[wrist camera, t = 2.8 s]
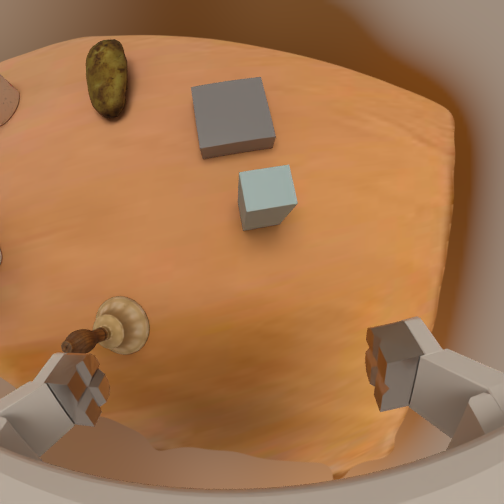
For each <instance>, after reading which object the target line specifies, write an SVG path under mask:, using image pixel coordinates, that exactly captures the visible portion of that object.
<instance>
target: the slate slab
mask: <svg viewBox="0 0 504 504" xmlns="http://www.w3.org/2000/svg"><path fill="white" fill-rule="evenodd" d="M191 90H192V97H193V104H194V111H195V118H196V125H197V132H198V138H199V145H200V150H201V154H202V158H203V159H207V158H212V157H218V156H223V155H229V154H235V153H241V152H248V151H254V150H261V149H268V148H272V147H273V144H274V141H275V137H276V136H275V131H274V127H273V123H272V119H271V115H270V111H269V107H268V103H267V99H266V95H265V91H264V87H263V83H262V80H261V77H256V78H248V79H240V80H232V81H225V82H219V83H213V84H207V85H201V86H195V87H191Z"/></svg>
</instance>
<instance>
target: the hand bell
mask: <svg viewBox="0 0 504 504" xmlns="http://www.w3.org/2000/svg"><path fill="white" fill-rule="evenodd" d="M148 335H149V322H148V318H147V316H146V313H145V312H144V310H143V309H142V307H141V306H140V305H139V304H138V303H136V302H135V301H134V300H132V299H130V298H127V297H122V296H117V297H112V298H110V299H108V300H106V301H105V302H104V303H103V304H102V305H101V306H100V308H99V310H98V312H97V315H96V321H95V323H94V325H93V331H90V330H86V329H82V330H77V331H74V332H72V333H71V334H70V335H68V337H67V338H66V340H65V341H64V342H63V343H62V345H61V347H62V351H63V352H64V353H85V354H86V353H88V352H90V351H91V350H92V349H93V348H94V347H95V345H96V343H99V344H100V345H101V346H103V347H105V348H108V349H110V350H111V351H113V352H116V353H119V354H132V353H134V352H137V351H138V350H140V349H141V348H142V347H143V346H144V344H145V343H146V341H147V338H148Z"/></svg>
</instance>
